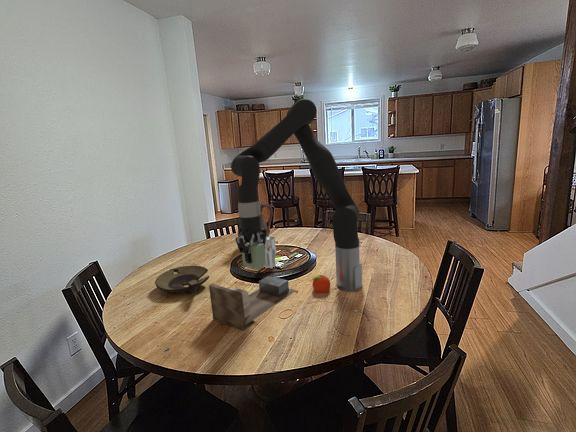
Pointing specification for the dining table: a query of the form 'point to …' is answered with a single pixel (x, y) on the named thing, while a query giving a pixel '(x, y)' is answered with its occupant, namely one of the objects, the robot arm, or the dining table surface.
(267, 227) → the ceramic pitcher
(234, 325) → the book shelf
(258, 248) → the pale green chunky prism
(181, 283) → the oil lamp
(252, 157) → the robot arm
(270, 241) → the beer glass
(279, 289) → the dark gray rectangular block
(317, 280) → the tomato
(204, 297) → the dining table surface
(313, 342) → the dining table surface
